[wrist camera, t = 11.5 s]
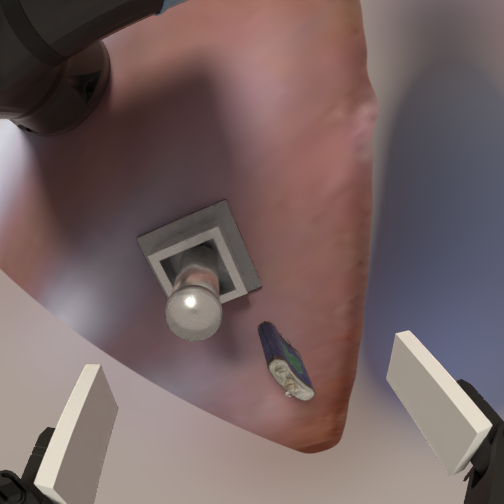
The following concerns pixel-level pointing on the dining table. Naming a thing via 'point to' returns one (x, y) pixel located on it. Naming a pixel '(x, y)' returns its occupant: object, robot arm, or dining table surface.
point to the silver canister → (195, 296)
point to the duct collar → (208, 234)
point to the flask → (285, 363)
